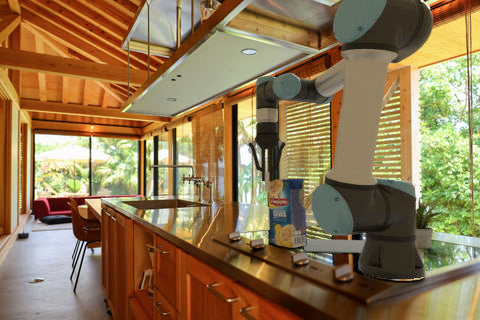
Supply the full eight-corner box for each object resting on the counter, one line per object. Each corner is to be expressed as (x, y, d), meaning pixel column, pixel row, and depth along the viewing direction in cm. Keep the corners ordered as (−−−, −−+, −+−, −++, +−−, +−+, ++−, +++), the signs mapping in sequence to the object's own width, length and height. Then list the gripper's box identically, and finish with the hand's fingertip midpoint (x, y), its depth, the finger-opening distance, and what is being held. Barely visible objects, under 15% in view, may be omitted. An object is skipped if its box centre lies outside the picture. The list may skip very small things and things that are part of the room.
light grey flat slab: (378, 254, 102) (378, 252, 102) (304, 252, 105) (304, 250, 105) (364, 241, 120) (364, 240, 120) (301, 240, 122) (301, 238, 122)
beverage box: (284, 241, 121) (282, 179, 122) (307, 245, 112) (304, 178, 113) (270, 243, 117) (267, 180, 118) (292, 247, 108) (289, 179, 109)
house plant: (417, 253, 103) (417, 200, 103) (386, 243, 116) (386, 196, 117) (455, 250, 107) (454, 198, 107) (420, 241, 120) (420, 195, 121)
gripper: (285, 123, 119) (286, 190, 118) (249, 124, 121) (249, 190, 120) (286, 120, 112) (286, 192, 111) (247, 121, 113) (247, 191, 113)
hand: (267, 191), depth 115 cm, fingers closed
